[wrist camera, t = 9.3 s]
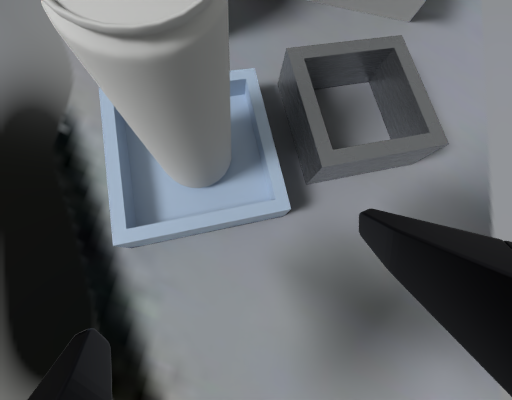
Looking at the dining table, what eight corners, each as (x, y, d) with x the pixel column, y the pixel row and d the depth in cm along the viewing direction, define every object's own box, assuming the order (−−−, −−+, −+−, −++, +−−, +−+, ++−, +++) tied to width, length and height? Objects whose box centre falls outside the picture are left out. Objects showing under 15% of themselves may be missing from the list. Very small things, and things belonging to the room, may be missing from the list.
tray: (283, 216, 18) (291, 208, 15) (131, 248, 16) (113, 245, 14) (252, 91, 20) (254, 67, 18) (116, 109, 19) (98, 86, 16)
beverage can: (227, 194, 17) (214, 47, 5) (156, 186, 17) (-19, 13, 5) (235, 132, 18) (237, -97, 7) (169, 124, 18) (51, -130, 6)
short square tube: (412, 164, 20) (448, 143, 16) (306, 184, 19) (322, 167, 15) (375, 70, 22) (401, 35, 18) (277, 83, 21) (286, 48, 17)
